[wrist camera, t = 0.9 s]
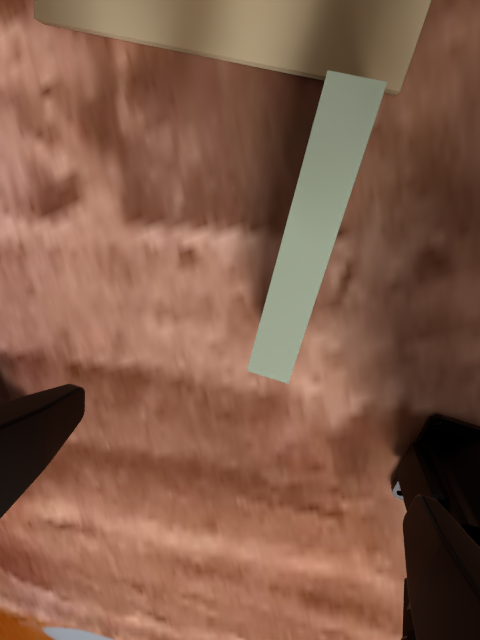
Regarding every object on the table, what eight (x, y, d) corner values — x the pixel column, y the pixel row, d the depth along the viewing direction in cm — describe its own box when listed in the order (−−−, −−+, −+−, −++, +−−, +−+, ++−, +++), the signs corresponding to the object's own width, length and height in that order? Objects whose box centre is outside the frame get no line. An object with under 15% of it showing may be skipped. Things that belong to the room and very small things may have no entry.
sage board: (366, 115, 16) (387, 81, 11) (294, 341, 20) (288, 383, 16) (324, 107, 16) (327, 70, 11) (262, 331, 20) (247, 370, 16)
